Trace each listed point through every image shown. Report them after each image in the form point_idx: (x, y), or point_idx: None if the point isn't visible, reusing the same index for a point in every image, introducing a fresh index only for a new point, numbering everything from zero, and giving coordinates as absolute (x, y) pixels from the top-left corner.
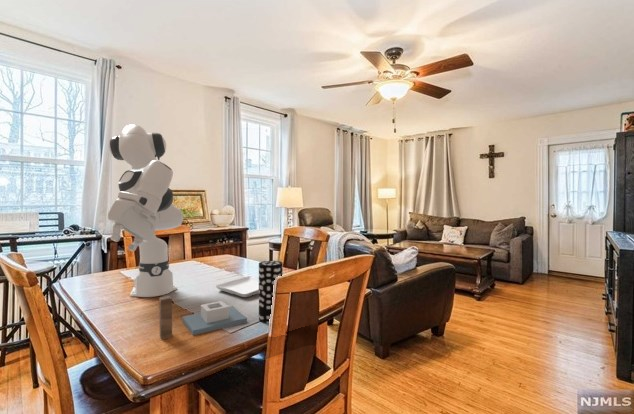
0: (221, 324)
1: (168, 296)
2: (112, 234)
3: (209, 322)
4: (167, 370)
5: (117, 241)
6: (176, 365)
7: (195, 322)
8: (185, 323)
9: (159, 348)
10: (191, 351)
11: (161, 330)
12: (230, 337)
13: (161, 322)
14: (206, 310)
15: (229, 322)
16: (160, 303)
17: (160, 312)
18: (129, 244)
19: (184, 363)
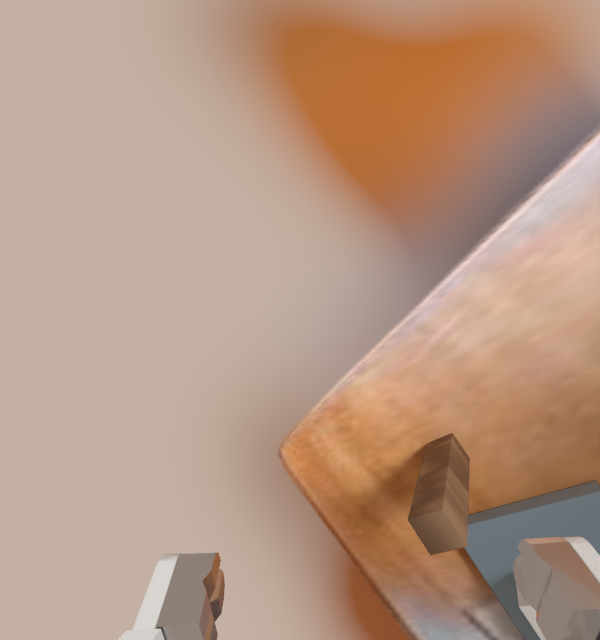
0: (504, 606)
1: (458, 541)
2: (140, 612)
3: None
4: (295, 482)
5: (218, 584)
6: (310, 495)
7: (523, 536)
8: (546, 497)
9: (376, 450)
10: (363, 518)
11: (424, 457)
12: (436, 605)
13: (420, 471)
14: (527, 606)
15: (521, 631)
16: (422, 505)
17: (428, 483)
18: (564, 598)
19: (317, 508)
